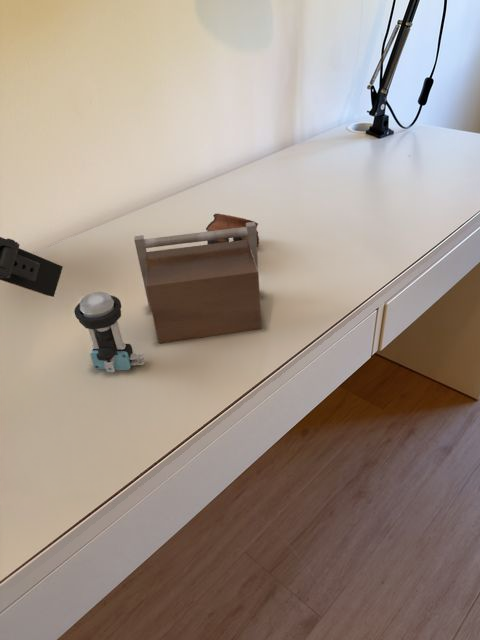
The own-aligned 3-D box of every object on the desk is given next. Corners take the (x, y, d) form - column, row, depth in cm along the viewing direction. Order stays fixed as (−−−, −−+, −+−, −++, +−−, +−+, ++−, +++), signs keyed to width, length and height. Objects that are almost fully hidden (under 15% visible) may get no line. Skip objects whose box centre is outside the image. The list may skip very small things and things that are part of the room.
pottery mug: (190, 258, 89) (199, 209, 87) (237, 267, 94) (246, 220, 93) (224, 270, 79) (235, 215, 78) (274, 278, 85) (286, 227, 83)
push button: (150, 353, 69) (135, 288, 63) (139, 380, 65) (121, 314, 58) (101, 351, 70) (82, 287, 63) (87, 378, 65) (64, 312, 59)
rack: (149, 307, 77) (134, 235, 70) (258, 292, 79) (254, 221, 72) (150, 344, 70) (133, 269, 63) (269, 327, 72) (266, 252, 65)
